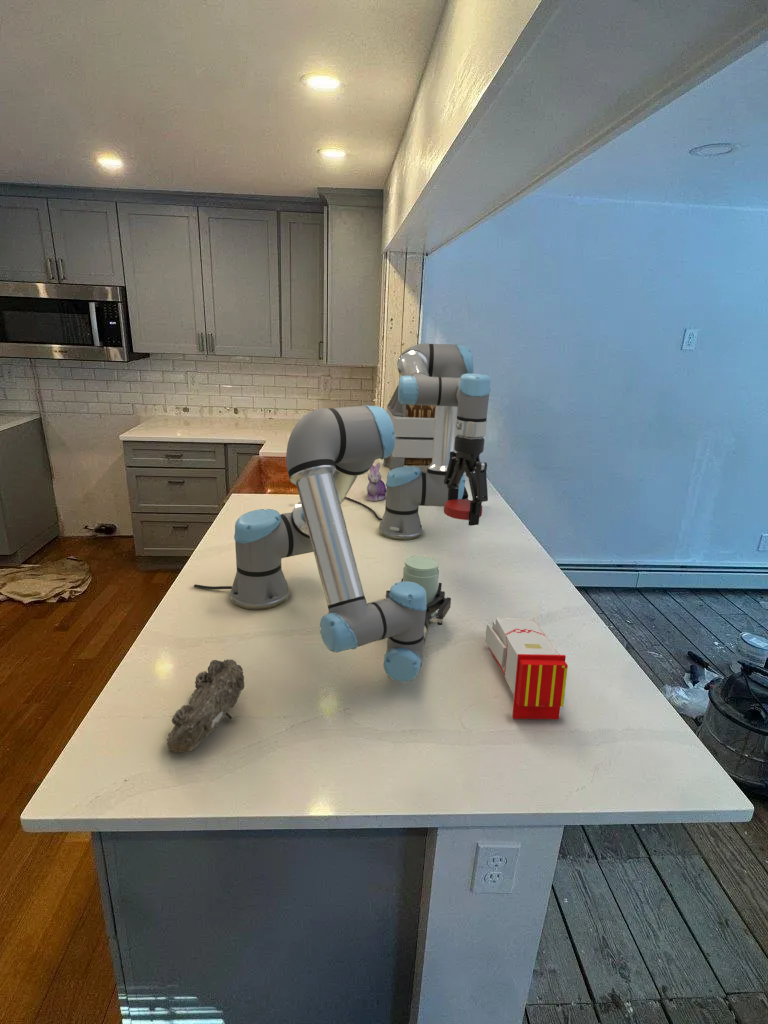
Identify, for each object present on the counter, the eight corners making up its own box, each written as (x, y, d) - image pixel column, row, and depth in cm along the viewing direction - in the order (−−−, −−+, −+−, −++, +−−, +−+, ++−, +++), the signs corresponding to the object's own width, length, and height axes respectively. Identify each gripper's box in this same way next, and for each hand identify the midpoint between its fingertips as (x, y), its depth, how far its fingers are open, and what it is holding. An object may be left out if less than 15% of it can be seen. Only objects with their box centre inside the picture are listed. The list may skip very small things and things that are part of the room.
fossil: (192, 660, 117) (244, 628, 112) (224, 691, 120) (276, 661, 115) (142, 746, 98) (202, 712, 93) (182, 779, 101) (242, 748, 96)
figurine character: (468, 516, 224) (463, 500, 237) (471, 498, 221) (465, 483, 234) (452, 515, 224) (447, 499, 237) (453, 498, 220) (449, 482, 234)
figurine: (371, 503, 230) (372, 467, 224) (360, 495, 238) (361, 460, 233) (391, 500, 234) (393, 465, 229) (380, 493, 242) (381, 459, 237)
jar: (441, 621, 145) (446, 566, 140) (410, 628, 141) (414, 572, 136) (424, 605, 152) (428, 552, 147) (394, 611, 149) (397, 557, 144)
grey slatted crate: (382, 463, 289) (386, 382, 275) (445, 464, 293) (451, 384, 279) (390, 482, 257) (394, 392, 243) (460, 483, 261) (468, 394, 247)
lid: (445, 505, 157) (446, 497, 156) (482, 509, 156) (483, 501, 155) (442, 517, 148) (442, 508, 147) (481, 521, 146) (482, 512, 145)
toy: (531, 603, 136) (576, 661, 106) (526, 655, 139) (569, 725, 109) (481, 602, 135) (512, 660, 106) (477, 654, 138) (507, 724, 109)
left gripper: (363, 638, 131) (380, 593, 152) (457, 650, 128) (461, 602, 149) (364, 609, 128) (381, 567, 149) (460, 621, 125) (464, 577, 146)
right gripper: (434, 428, 153) (429, 506, 160) (483, 447, 134) (474, 534, 141) (458, 427, 156) (451, 503, 163) (509, 445, 137) (498, 530, 144)
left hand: (421, 585), depth 149 cm, fingers closed on jar, 9 cm apart
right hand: (462, 518), depth 152 cm, fingers closed on lid, 10 cm apart
